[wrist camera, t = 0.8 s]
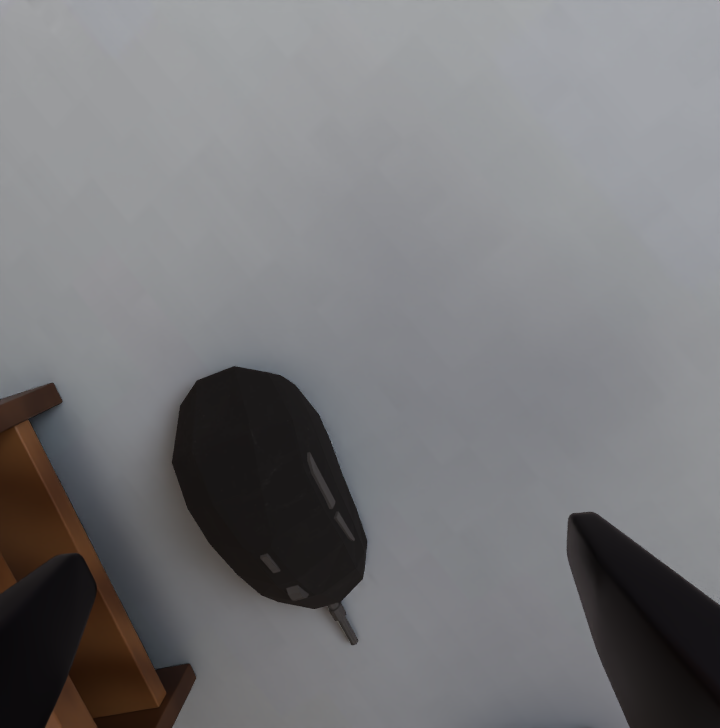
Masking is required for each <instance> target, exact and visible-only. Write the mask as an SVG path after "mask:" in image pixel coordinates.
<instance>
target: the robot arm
mask: <svg viewBox="0 0 720 728" xmlns="http://www.w3.org/2000/svg"><path fill="white" fill-rule="evenodd" d="M567 556H568V561H569V565H570V568H571V571H572V574H573V577H574V581H575V584H576V587H577V590H578V593H579V596H580V600H581V603H582V606H583V609H584V612H585V615H586V619H587V622H588V625H589V628H590V631H591V634H592V637H593V640H594V643H595V646H596V649H597V652H598V655H599V657H600V660H601V662H602V665H603V667H604V669H605V672H606V674H607V676H608V678H609V681H610V683H611V685H612V688H613V690H614V692H615V694H616V697H617V699H618V701H619V704H620V706H621V708H622V711H623V713H624V715H625V717H626V720H627V722H628V724H629V727H630V728H720V605H719V604H718V603H716V602H715V601H713V600H712V599H711V598H709V597H708V596H707V595H705V594H704V593H703V592H701V591H700V590H699V589H697V588H696V587H695V586H693V585H692V584H691V583H689V582H688V581H687V580H685V579H684V578H683V577H681V576H680V575H679V574H677V573H676V572H675V571H673V570H672V569H671V568H669V567H668V566H666V565H665V564H664V563H662V562H661V561H660V560H658V559H657V558H656V557H654V556H653V555H652V554H650V553H649V552H648V551H646V550H645V549H644V548H642V547H641V546H640V545H638V544H637V543H636V542H634V541H633V540H632V539H630V538H629V537H628V536H626V535H625V534H624V533H622V532H621V531H619V530H618V529H617V528H615V527H614V526H613V525H611V524H610V523H609V522H607V521H606V520H605V519H603V518H602V517H601V516H599V515H598V514H596V513H594V512H583V513H573V514H571V515H570V516H569V518H568V531H567ZM96 593H97V585H96V581H95V579H94V577H93V575H92V573H91V571H90V569H89V567H88V565H87V563H86V561H85V559H84V558H83V556H82V555H80V554H79V553H68V554H59V555H56V556H54V557H52V558H51V559H49V560H48V561H47V562H45V563H44V564H42V565H41V566H39V567H38V568H37V569H35V570H34V571H32V572H31V573H29V574H28V575H27V576H25V577H24V578H22V579H21V580H19V581H18V582H17V583H15V584H14V585H12V586H11V587H9V588H8V589H7V590H5V591H4V592H2V593H1V594H0V728H45V727H46V725H47V723H48V720H49V718H50V716H51V714H52V712H53V709H54V707H55V705H56V703H57V701H58V698H59V696H60V694H61V691H62V689H63V687H64V684H65V682H66V680H67V677H68V674H69V672H70V669H71V666H72V664H73V661H74V658H75V655H76V652H77V649H78V647H79V644H80V641H81V638H82V635H83V632H84V629H85V627H86V624H87V621H88V618H89V615H90V612H91V609H92V607H93V604H94V601H95V598H96Z"/></svg>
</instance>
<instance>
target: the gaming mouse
mask: <svg viewBox="0 0 720 728" xmlns="http://www.w3.org/2000/svg"><path fill="white" fill-rule="evenodd" d="M172 464H173V467H174V470H175V473H176V476H177V479H178V482H179V485H180V488H181V490H182V493H183V496H184V499H185V502H186V505H187V508H188V510H189V511H190V513H191V515H192V516H193V518H194V519H195V521H196V523H197V524H198V526H199V527H200V529H201V531H202V532H203V534H204V535H205V537H206V539H207V540H208V542H209V543H210V545H211V546H212V547H213V548H214V549H215V550H216V551H217V552H218V554H219V555H220V556H221V557H222V558H223V559H224V560H225V561H226V563H227V564H228V565H229V566H230V567H231V568H232V569H233V570H234V572H235V573H236V574H237V575H238V576H240V577H241V578H242V579H243V580H244V581H246V582H247V583H248V584H249V585H250V586H251V587H253V588H254V589H255V590H256V591H257V592H258V593H260V594H261V595H262V596H265V597H267V598H270V599H272V600H275V601H277V602H281V603H286V604H291V605H297V606H302V607H307V608H312V609H317V608H320V607H324V606H328V608H329V611H330V613H331V615H332V616H333V618H334V620H335V621H339V623H340V625H341V627H342V629H343V630H344V632H345V634H346V636H347V638H348V639H349V641H350V643H351V645H355V644H357V642H358V639H357V637H356V635H355V633H354V632H353V630H352V628H351V626H350V624H349V623H348V621H347V619H346V617H345V615H346V612H345V610H344V608H343V606H342V605H341V603H340V602H341V601H342V600H343V599H344V598H345V597H346V596H347V595H348V594H349V593H350V591H351V590H352V589H353V588H354V587H355V586H356V585H357V584H358V583H359V582H360V581H361V580H362V579H363V574H364V569H365V559H366V549H367V539H366V536H365V533H364V530H363V527H362V524H361V521H360V518H359V515H358V512H357V509H356V507H355V504H354V502H353V499H352V497H351V494H350V492H349V489H348V487H347V485H346V482H345V480H344V477H343V475H342V472H341V469H340V466H339V464H338V461H337V458H336V455H335V452H334V450H333V447H332V444H331V441H330V439H329V437H328V434H327V432H326V430H325V428H324V425H323V423H322V421H321V418H320V416H319V414H318V413H317V412H316V410H315V409H314V408H313V407H312V405H311V404H310V403H309V402H308V400H307V399H306V398H305V397H304V395H303V394H302V393H301V392H300V390H299V389H298V388H297V387H296V385H295V384H293V383H292V382H290V381H288V380H287V379H285V378H284V377H282V376H281V375H276V374H272V373H268V372H263V371H257V370H252V369H246V368H240V367H235V366H234V367H231V368H228V369H226V370H223V371H221V372H218V373H215V374H213V375H210V376H208V377H205V378H202V379H200V380H197V381H196V383H195V384H194V386H193V387H192V389H191V390H190V392H189V393H188V395H187V396H186V398H185V399H184V401H183V402H182V404H181V405H180V411H179V418H178V425H177V431H176V438H175V445H174V452H173V459H172Z"/></svg>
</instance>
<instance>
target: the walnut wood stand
mask: <svg viewBox="0 0 720 728" xmlns="http://www.w3.org/2000/svg"><path fill="white" fill-rule="evenodd" d="M60 403H62V399H61V397H60V395H59V393H58V391H57V389H56V387H55V385H54V383H49V384H46V385H43V386H40V387H37V388H34V389H31V390H28V391H25V392H21V393H18V394H15V395H12V396H9V397H6V398H3V399H0V594H1V593H2V592H4V591H5V590H7V589H8V588H9V587H11V586H12V585H14V584H15V583H17V582H18V581H19V580H21V579H22V578H24V577H25V576H27V575H28V574H29V573H31V572H32V571H34V570H35V569H37V568H38V567H39V566H41V565H42V564H44V563H45V562H47V561H48V560H49V559H51V558H52V557H54V556H56V555H59V554H68V553H79V554H80V555H82V556H83V558H84V559H85V561H86V563H87V565H88V567H89V569H90V571H91V573H92V575H93V577H94V579H95V581H96V585H97V593H96V598H95V601H94V604H93V607H92V609H91V612H90V615H89V618H88V621H87V624H86V627H85V629H84V632H83V635H82V638H81V641H80V644H79V647H78V649H77V652H76V655H75V658H74V661H73V664H72V666H71V669H70V672H69V674H68V677H67V680H66V682H65V684H64V687H63V689H62V691H61V694H60V696H59V698H58V701H57V703H56V705H55V707H54V709H53V712H52V714H51V716H50V718H49V720H48V723H47V725H46V727H45V728H172V727H173V725H174V723H175V721H176V719H177V717H178V715H179V713H180V710H181V708H182V706H183V704H184V702H185V700H186V698H187V696H188V694H189V692H190V690H191V688H192V686H193V684H194V682H195V680H196V676H195V674H194V672H193V670H192V667H191V665H190V664H184V665H178V666H173V667H167V668H162V669H157V670H155V669H154V667H153V665H152V663H151V661H150V659H149V657H148V655H147V653H146V651H145V649H144V647H143V645H142V643H141V641H140V639H139V637H138V635H137V633H136V631H135V629H134V627H133V625H132V623H131V621H130V619H129V618H128V616H127V614H126V612H125V610H124V608H123V606H122V604H121V602H120V600H119V598H118V596H117V594H116V592H115V590H114V588H113V586H112V584H111V582H110V580H109V578H108V576H107V574H106V572H105V570H104V568H103V566H102V564H101V562H100V560H99V558H98V556H97V554H96V552H95V550H94V548H93V546H92V544H91V542H90V540H89V538H88V536H87V534H86V532H85V530H84V529H83V527H82V525H81V523H80V521H79V519H78V517H77V515H76V513H75V511H74V509H73V507H72V505H71V503H70V501H69V499H68V497H67V495H66V493H65V491H64V489H63V487H62V485H61V483H60V481H59V479H58V477H57V475H56V473H55V471H54V469H53V467H52V465H51V463H50V461H49V459H48V457H47V455H46V453H45V451H44V449H43V447H42V445H41V443H40V441H39V440H38V438H37V436H36V434H35V432H34V430H33V428H32V426H31V424H30V422H29V420H28V419H30V418H32V417H34V416H36V415H38V414H40V413H42V412H44V411H46V410H48V409H50V408H52V407H54V406H56V405H58V404H60Z"/></svg>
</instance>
